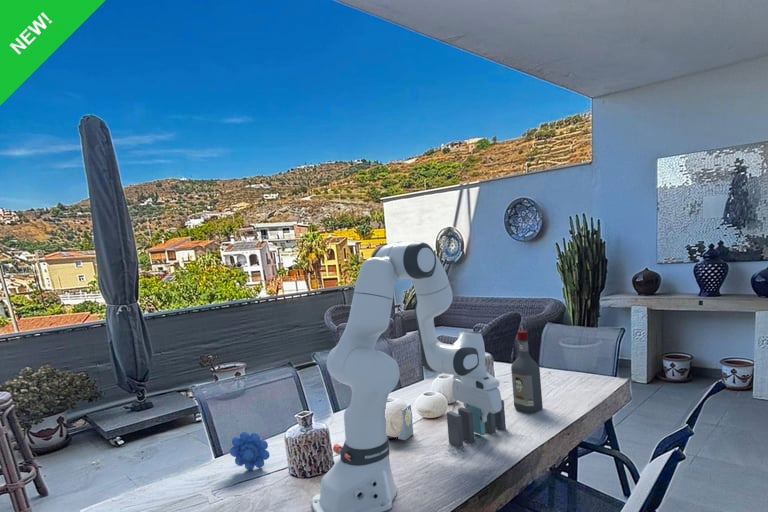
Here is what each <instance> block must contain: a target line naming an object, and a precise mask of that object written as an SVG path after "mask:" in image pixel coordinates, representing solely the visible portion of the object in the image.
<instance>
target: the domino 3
mask: <svg viewBox="0 0 768 512" xmlns="http://www.w3.org/2000/svg"><path fill="white" fill-rule="evenodd" d="M469 410H470V411H472V413H473V426H474V434H478V435H480V436H483V435H486V432H485V423H484V422H482V421H480V416H482V414H483V412H482V411H481V409H479V408H477V407H474V406H471V405H469Z"/></svg>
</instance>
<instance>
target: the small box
mask: <svg viewBox="0 0 768 512" xmlns="http://www.w3.org/2000/svg"><path fill="white" fill-rule="evenodd" d="M406 404H407V403H406ZM407 408H408V410H409V409H410V411H411V415H412V404H407V407H406V408H404V409H402V410H401V411H402V415H403V424H402V431H401V434H400V435H399V436H398V440H403V441H407V440H408V439H409V438H410V437H411V436H412V435H414V426H413V425H414V424H413V418H412V419H411V424H410V426H409V427H408V426H407V425H406V421H405V415H406V410H407Z"/></svg>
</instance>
